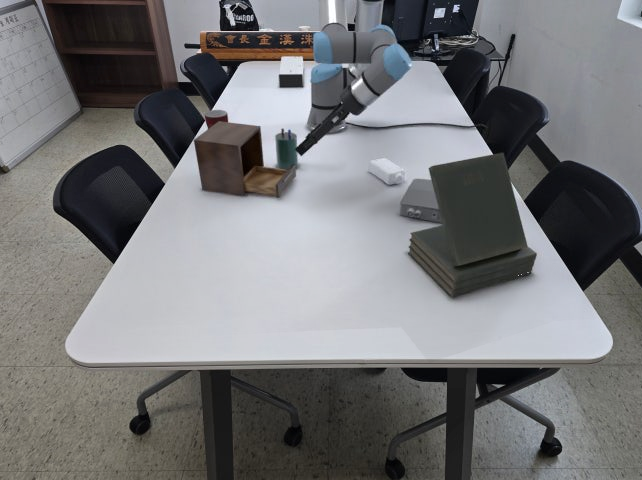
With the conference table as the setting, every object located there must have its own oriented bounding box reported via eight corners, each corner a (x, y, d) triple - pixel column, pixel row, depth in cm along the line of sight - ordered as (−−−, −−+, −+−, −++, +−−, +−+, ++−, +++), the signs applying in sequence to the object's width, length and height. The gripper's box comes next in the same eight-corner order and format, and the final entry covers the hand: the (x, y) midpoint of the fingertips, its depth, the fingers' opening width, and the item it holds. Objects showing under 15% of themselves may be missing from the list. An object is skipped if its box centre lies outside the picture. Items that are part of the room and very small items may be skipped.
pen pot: (297, 161, 170) (296, 124, 162) (298, 170, 164) (296, 132, 156) (277, 162, 169) (274, 124, 161) (276, 170, 164) (274, 132, 156)
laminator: (303, 87, 237) (302, 74, 233) (277, 87, 236) (276, 74, 232) (303, 68, 264) (302, 56, 260) (280, 68, 263) (279, 56, 259)
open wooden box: (264, 174, 162) (260, 126, 152) (244, 196, 149) (238, 145, 140) (225, 168, 164) (219, 121, 155) (202, 189, 152) (193, 139, 142)
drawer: (297, 176, 158) (296, 164, 156) (280, 198, 147) (279, 185, 144) (256, 170, 161) (255, 158, 159) (236, 191, 149) (235, 178, 147)
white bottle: (390, 188, 155) (391, 175, 152) (368, 172, 164) (369, 160, 161) (407, 183, 157) (408, 171, 155) (384, 168, 166) (385, 156, 164)
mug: (223, 148, 178) (220, 120, 172) (202, 146, 179) (198, 119, 173) (233, 137, 186) (230, 110, 180) (213, 135, 187) (209, 109, 181)
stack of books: (450, 298, 112) (469, 200, 97) (407, 253, 126) (418, 161, 111) (531, 275, 119) (560, 180, 104) (481, 234, 134) (501, 146, 118)
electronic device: (474, 233, 134) (478, 217, 131) (397, 218, 140) (398, 202, 137) (483, 201, 148) (486, 186, 145) (413, 189, 154) (414, 174, 151)
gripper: (359, 73, 137) (306, 123, 150) (338, 96, 121) (281, 150, 134) (377, 94, 139) (323, 142, 152) (359, 119, 123) (300, 171, 136)
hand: (303, 146), depth 143 cm, fingers open, 8 cm apart
